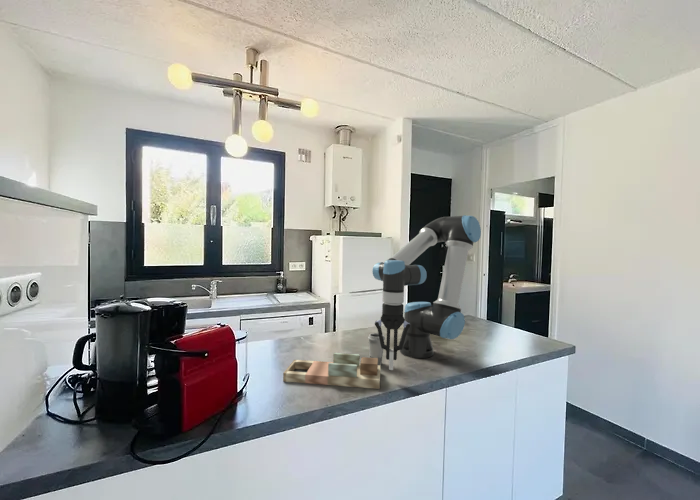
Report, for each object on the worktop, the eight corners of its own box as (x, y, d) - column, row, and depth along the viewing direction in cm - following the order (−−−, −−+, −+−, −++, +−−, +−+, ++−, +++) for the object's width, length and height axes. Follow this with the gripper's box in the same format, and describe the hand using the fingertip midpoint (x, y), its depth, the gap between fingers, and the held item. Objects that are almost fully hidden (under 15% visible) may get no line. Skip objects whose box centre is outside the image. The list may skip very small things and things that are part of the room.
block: (377, 368, 115) (377, 358, 115) (377, 375, 109) (377, 364, 109) (361, 367, 116) (361, 357, 116) (360, 374, 110) (360, 363, 110)
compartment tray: (380, 373, 119) (380, 355, 119) (379, 388, 106) (379, 368, 106) (294, 366, 123) (294, 349, 123) (283, 381, 110) (283, 361, 110)
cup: (382, 360, 132) (382, 332, 132) (386, 366, 125) (387, 337, 125) (365, 361, 131) (366, 332, 130) (369, 367, 124) (370, 337, 124)
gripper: (410, 302, 114) (408, 365, 115) (375, 300, 116) (373, 363, 116) (412, 306, 107) (410, 374, 107) (374, 304, 108) (372, 371, 109)
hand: (391, 368), depth 112 cm, fingers closed
